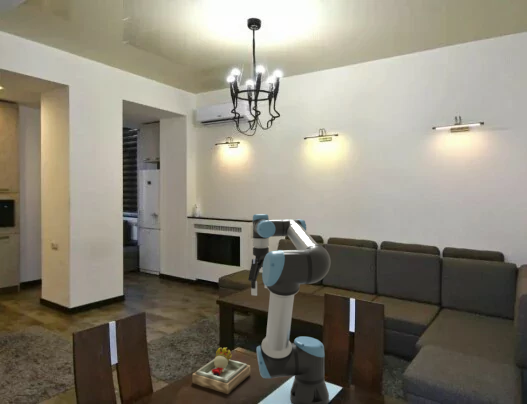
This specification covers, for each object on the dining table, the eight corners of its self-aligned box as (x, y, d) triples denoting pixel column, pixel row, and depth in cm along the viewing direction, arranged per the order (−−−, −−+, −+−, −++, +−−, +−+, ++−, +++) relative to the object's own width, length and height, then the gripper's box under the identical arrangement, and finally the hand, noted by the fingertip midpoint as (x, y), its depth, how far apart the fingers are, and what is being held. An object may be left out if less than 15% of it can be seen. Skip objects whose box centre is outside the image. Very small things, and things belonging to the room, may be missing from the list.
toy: (226, 381, 153) (236, 352, 166) (219, 369, 151) (230, 341, 164) (211, 381, 156) (222, 353, 169) (204, 370, 153) (216, 342, 166)
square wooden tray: (250, 374, 161) (250, 363, 161) (227, 394, 145) (227, 382, 145) (217, 365, 169) (217, 355, 169) (192, 383, 153) (192, 371, 153)
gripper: (265, 243, 183) (265, 284, 183) (240, 250, 160) (240, 297, 161) (278, 243, 179) (279, 286, 180) (255, 251, 157) (255, 299, 157)
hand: (261, 291), depth 170 cm, fingers open, 13 cm apart
